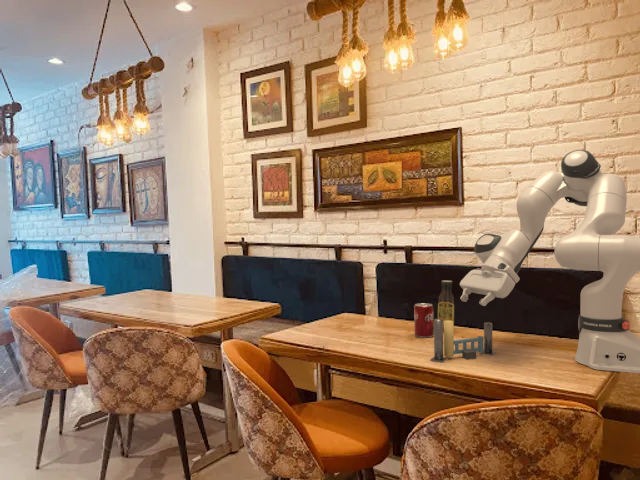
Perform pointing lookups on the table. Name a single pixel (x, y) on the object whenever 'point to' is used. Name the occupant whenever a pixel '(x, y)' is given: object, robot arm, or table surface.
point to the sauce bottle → (446, 303)
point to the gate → (458, 341)
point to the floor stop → (469, 354)
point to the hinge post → (488, 339)
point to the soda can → (424, 320)
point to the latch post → (438, 341)
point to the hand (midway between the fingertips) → (471, 302)
